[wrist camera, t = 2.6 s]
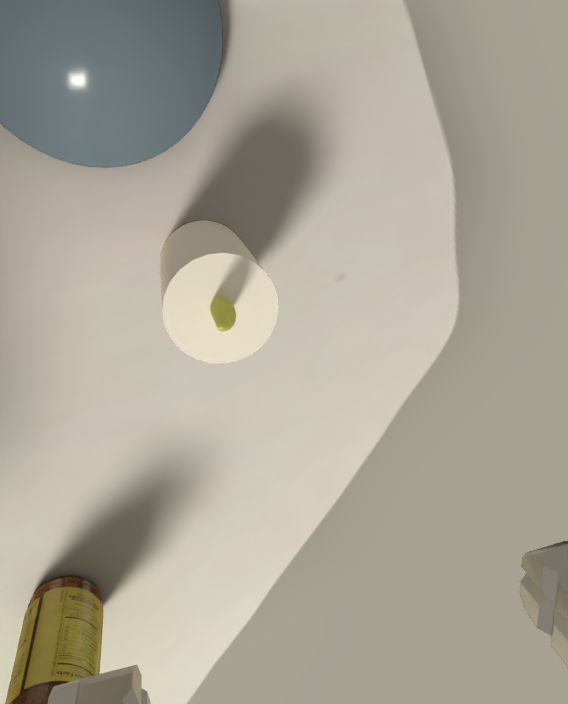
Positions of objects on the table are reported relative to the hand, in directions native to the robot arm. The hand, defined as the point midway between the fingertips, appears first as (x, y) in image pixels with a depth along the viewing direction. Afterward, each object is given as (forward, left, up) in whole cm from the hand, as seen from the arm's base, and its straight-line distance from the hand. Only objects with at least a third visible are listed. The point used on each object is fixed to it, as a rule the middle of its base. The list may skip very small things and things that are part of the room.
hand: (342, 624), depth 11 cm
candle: (0, 0, -31) cm, 31 cm away
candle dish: (+15, +4, -31) cm, 34 cm away
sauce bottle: (-27, +17, -31) cm, 44 cm away
